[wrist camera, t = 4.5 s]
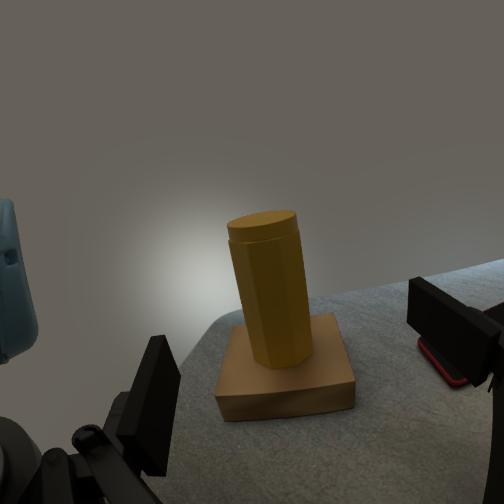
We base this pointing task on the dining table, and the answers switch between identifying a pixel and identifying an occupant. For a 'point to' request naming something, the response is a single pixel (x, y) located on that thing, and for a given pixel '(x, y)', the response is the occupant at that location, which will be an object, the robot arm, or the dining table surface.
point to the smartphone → (499, 313)
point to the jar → (272, 286)
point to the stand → (286, 378)
